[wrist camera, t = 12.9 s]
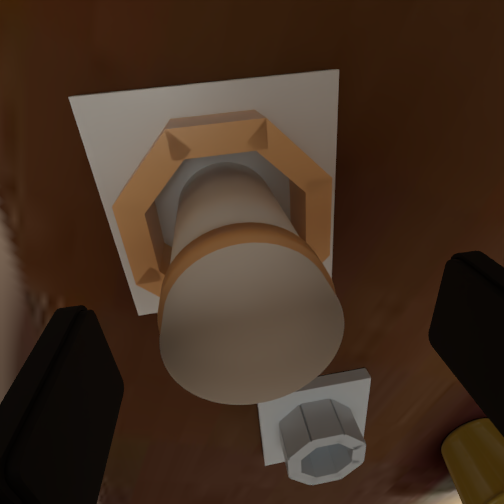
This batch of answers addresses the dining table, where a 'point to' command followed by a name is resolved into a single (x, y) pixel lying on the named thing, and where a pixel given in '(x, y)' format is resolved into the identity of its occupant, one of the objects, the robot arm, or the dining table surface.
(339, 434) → the narrow socket
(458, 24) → the dining table surface
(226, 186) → the beige peg
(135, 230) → the wide socket
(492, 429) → the plant pot
